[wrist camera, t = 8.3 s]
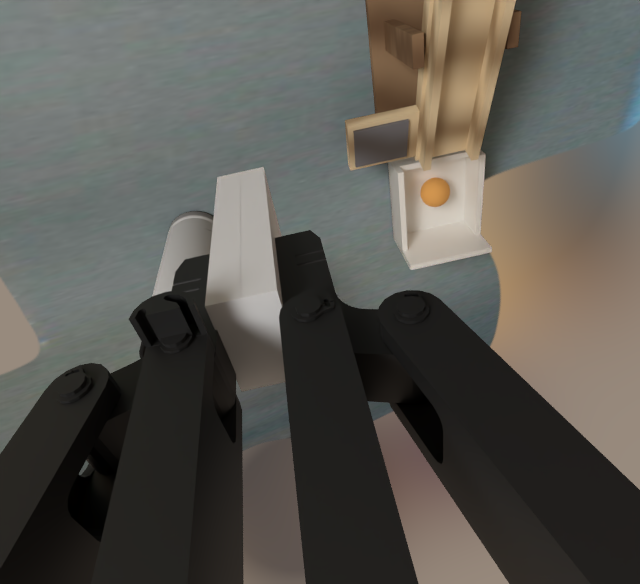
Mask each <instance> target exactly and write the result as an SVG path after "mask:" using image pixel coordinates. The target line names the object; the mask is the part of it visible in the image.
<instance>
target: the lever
mask: <svg viewBox="0 0 640 584" xmlns="http://www.w3.org/2000/svg"><path fill="white" fill-rule="evenodd" d="M515 2H516V0H424V5H423V18H422V32H424V67H423V68H419V69H418V82H417V95H416V105H413V106H408V107H404V108H399V109H395V110H390V111H386V112H381V113H376V114H372V115H367V116H363V117H358V118H353V119H349V120H345V126H346V140H347V153H348V164H349V167H350V170H355V169H360V168H364V167H369V166H373V165H378V164H382V163H387V162H392V161H396V160H401V159H405V158H410V157H414V159H415V161H417V160H419V162H420V164H421V167H422V169H423V171H427V170H431V163H432V157H436V156H440V155H445V154H449V153H454V152H458V151H463V150H465V151H466V153H467V154H468V156H469V158H470V160H471V161H472V160H477V159H478V158H479V154H480V149H481V145H482V141H483V137H484V133H485V128H486V124H487V120H488V116H489V112H490V107H491V103H492V99H493V95H494V91H495V86H496V82H497V78H498V74H499V70H500V65H501V61H502V57H503V53H504V49H505V44H506V40H507V36H508V32H509V28H510V23H511V19H512V15H513V11H514V6H515Z"/></svg>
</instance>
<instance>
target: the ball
mask: <svg viewBox="0 0 640 584" xmlns="http://www.w3.org/2000/svg"><path fill="white" fill-rule="evenodd" d="M420 195H421V198H422V201H423V202H424V203H425V204H426V205H428V206H431V207H439V206H441V205H443V204H444V203H445V202H446V201H447V200H448V198H449V196H450V187H449V185H448V183H447V182H446V181H445V180H443V179H441V178H431V179H429V180H427V181H426V182H425V183H424V184H423V185H422V187H421V192H420Z"/></svg>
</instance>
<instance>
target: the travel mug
mask: <svg viewBox="0 0 640 584" xmlns="http://www.w3.org/2000/svg"><path fill="white" fill-rule="evenodd" d="M213 218H214V217H213V216H212V215H210V214H208V213H204V212H199V211H190V212H186V213H183V214H181V215H179V216H178V217H177V218H175V220H174V221H173V222H172V224H171V226H170V229H169V233H168V237H167V241H166V245H165V249H164V252H163V256H162V260H161V264H160V268H159V272H158V276H157V280H156V284H155V288H154V292H153V296H155V295H158V294H161V293H164V292H168V291H172V286H173V281H174V276H175V271H176V270H177V269H178V268H179V266H180V265H181V264H182V262H183V261H184V260H185V259H189V258H193V257H198V256H202V255H207V254H210V248H211V238H212V228H213ZM153 296H152V297H153ZM145 349H146V347H145V346H144V344H143V342H141V346H140V350H139V354H140V358H143V357H144V353H145Z"/></svg>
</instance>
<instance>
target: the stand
mask: <svg viewBox="0 0 640 584" xmlns="http://www.w3.org/2000/svg"><path fill="white" fill-rule="evenodd" d="M365 1H366V12H367V24H368V35H369V47H370V58H371V70H372V81H373V92H374V104H375V114H376V113H381V112H386V111H390V110H395V109H399V108H404V107H408V106H413V105H416V95H417V82H418V69H419V68H423V67H424V32H422V18H423V5H424V0H365ZM520 21H521V11H518V10H514V11H513V15H512V19H511V23H510V28H509V32H508V36H507V40H506V44H505V49H510V48H515V47H518V42H519V31H520Z"/></svg>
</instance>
